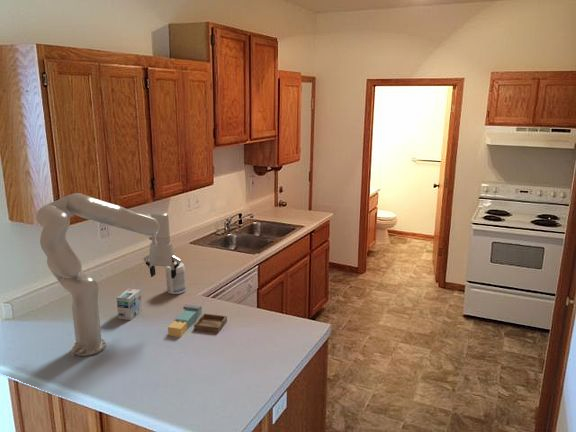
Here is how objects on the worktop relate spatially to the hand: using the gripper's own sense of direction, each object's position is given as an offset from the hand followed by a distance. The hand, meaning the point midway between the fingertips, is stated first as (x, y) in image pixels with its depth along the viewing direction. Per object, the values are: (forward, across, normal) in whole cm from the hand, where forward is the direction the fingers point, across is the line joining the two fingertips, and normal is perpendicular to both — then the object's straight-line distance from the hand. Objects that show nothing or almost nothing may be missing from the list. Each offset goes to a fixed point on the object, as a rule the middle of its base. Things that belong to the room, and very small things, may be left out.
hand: (163, 276), depth 206 cm
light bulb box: (+22, -19, +2) cm, 29 cm away
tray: (+22, +22, -1) cm, 31 cm away
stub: (+22, +10, -10) cm, 26 cm away
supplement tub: (+22, -8, +32) cm, 39 cm away
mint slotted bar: (+22, +10, +2) cm, 24 cm away
